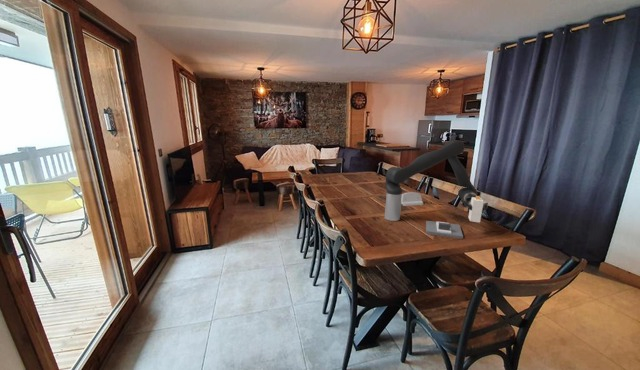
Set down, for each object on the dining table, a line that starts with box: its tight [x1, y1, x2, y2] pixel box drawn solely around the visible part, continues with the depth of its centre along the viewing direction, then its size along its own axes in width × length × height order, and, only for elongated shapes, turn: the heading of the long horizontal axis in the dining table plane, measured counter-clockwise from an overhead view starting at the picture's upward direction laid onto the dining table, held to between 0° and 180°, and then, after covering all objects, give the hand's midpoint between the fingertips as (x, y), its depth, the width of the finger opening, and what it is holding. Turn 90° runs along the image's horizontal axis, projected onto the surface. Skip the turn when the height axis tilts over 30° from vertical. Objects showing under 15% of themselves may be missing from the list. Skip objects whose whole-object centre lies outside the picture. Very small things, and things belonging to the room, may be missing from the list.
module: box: [468, 195, 485, 223], centre depth 135 cm, size 5×6×14 cm
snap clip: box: [438, 221, 451, 230], centre depth 139 cm, size 6×2×3 cm, turn 68°
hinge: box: [401, 191, 424, 207], centre depth 188 cm, size 17×5×10 cm, turn 99°
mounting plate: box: [425, 220, 464, 240], centre depth 142 cm, size 18×16×2 cm
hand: (477, 209), depth 133 cm, fingers closed on module, 4 cm apart
